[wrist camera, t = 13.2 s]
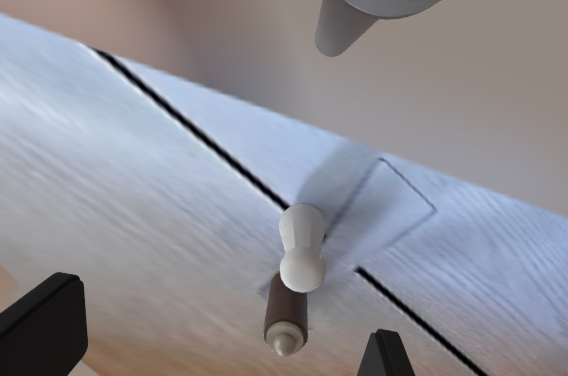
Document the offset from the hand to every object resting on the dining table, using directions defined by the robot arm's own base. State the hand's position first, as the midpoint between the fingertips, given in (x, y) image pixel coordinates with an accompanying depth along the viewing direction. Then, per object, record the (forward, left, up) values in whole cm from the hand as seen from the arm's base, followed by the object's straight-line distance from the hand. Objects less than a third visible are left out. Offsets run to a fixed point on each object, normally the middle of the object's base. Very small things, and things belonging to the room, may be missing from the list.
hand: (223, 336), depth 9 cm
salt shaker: (+8, +4, -28) cm, 30 cm away
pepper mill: (+19, +4, -28) cm, 34 cm away
